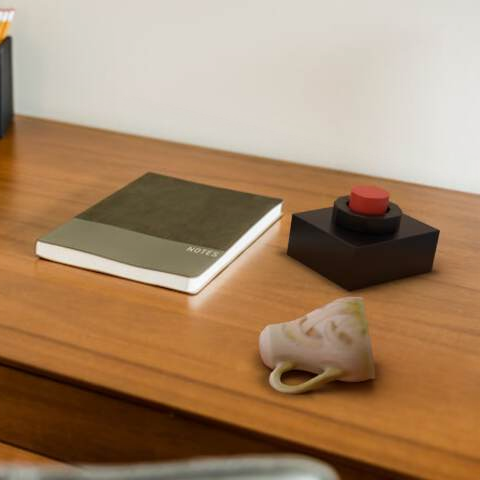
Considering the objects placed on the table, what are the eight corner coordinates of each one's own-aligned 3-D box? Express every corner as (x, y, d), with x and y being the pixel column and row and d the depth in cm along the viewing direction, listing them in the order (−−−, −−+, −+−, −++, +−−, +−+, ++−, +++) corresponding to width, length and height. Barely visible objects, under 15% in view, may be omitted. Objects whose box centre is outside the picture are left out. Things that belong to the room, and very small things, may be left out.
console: (366, 240, 105) (375, 184, 103) (431, 274, 97) (443, 214, 95) (285, 257, 100) (293, 197, 97) (348, 294, 92) (359, 231, 89)
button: (368, 200, 98) (371, 183, 98) (394, 213, 95) (398, 195, 94) (340, 205, 97) (343, 187, 96) (366, 218, 93) (370, 200, 93)
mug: (245, 346, 81) (310, 257, 79) (336, 409, 80) (404, 320, 78) (240, 369, 74) (311, 271, 72) (340, 438, 73) (415, 341, 71)
